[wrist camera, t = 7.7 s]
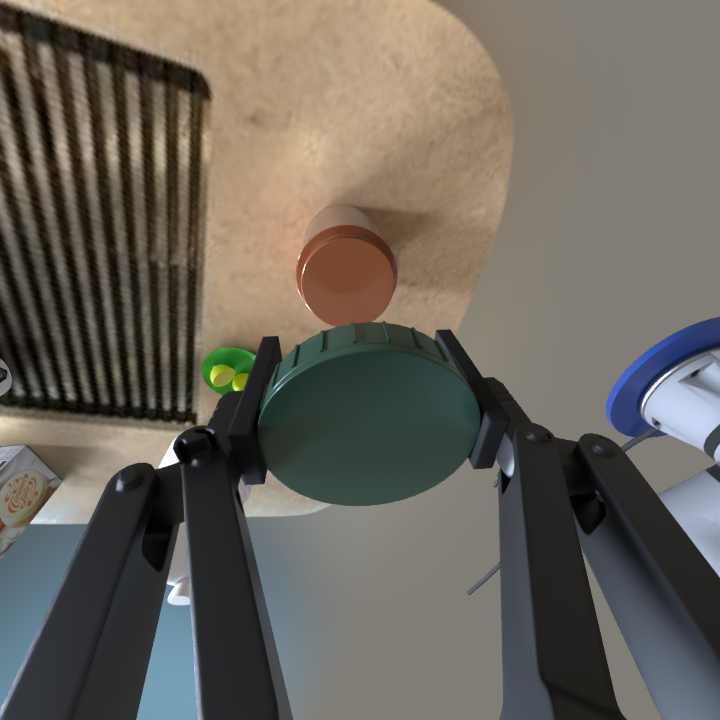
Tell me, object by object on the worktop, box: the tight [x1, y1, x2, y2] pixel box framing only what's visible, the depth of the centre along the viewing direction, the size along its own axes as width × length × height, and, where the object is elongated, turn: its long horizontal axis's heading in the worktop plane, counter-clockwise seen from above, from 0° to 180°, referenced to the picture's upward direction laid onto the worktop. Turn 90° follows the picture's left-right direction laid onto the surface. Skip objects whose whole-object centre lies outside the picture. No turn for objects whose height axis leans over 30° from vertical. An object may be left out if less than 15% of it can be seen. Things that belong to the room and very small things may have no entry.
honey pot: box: [158, 438, 252, 605], centre depth 40 cm, size 13×13×18 cm
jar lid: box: [257, 321, 481, 506], centre depth 12 cm, size 8×8×2 cm
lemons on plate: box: [201, 348, 256, 396], centre depth 37 cm, size 8×8×3 cm
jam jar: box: [296, 204, 397, 327], centre depth 26 cm, size 8×8×12 cm
